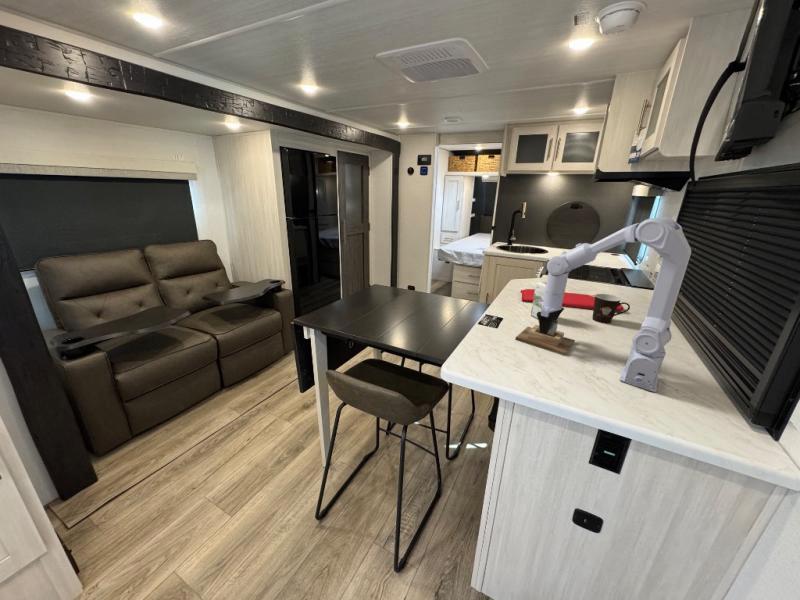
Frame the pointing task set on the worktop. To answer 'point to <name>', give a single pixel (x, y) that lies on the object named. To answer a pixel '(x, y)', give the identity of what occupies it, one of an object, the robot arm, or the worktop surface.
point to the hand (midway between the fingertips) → (546, 329)
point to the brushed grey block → (551, 329)
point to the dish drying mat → (568, 299)
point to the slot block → (546, 340)
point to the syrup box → (538, 298)
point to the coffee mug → (606, 308)
